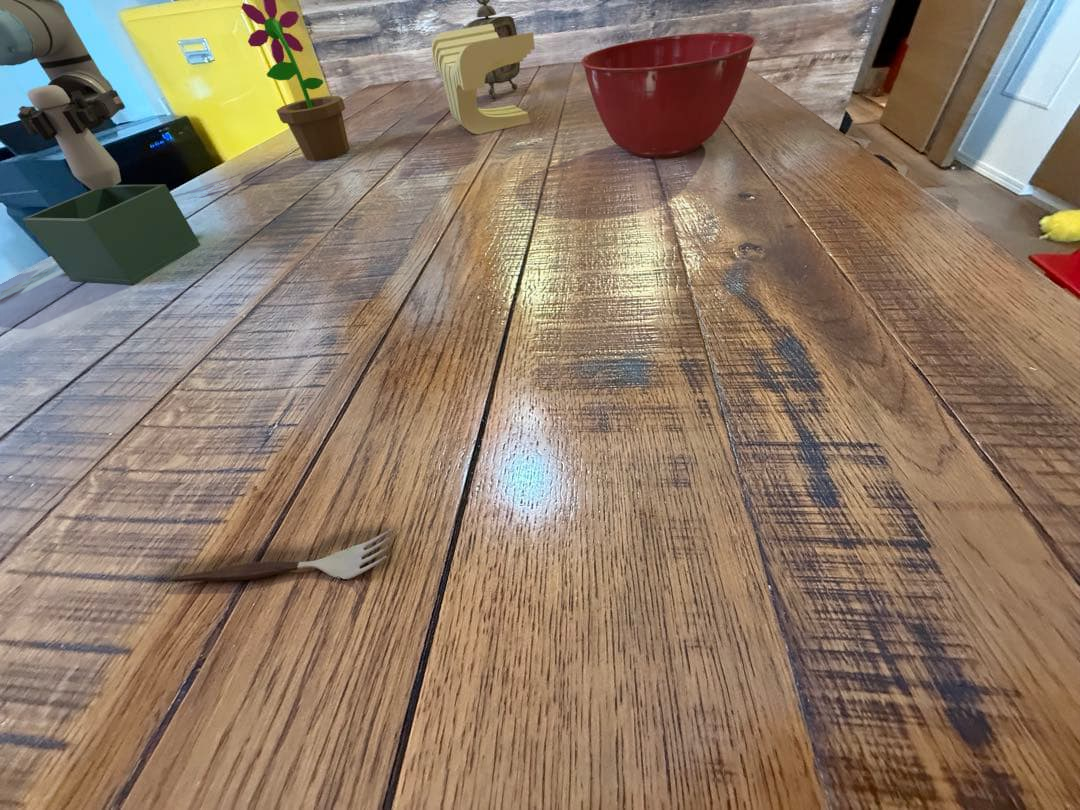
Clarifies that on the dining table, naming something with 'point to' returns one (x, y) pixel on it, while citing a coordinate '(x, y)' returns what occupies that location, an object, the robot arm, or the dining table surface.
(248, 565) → the fork
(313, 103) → the flowerpot
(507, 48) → the slatted curved stool
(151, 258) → the waste bin
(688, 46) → the mixing bowl
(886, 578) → the dining table surface
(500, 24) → the tabletop clock
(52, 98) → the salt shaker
